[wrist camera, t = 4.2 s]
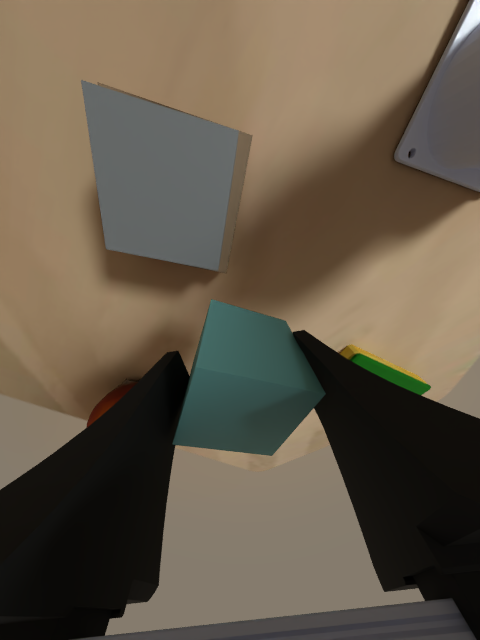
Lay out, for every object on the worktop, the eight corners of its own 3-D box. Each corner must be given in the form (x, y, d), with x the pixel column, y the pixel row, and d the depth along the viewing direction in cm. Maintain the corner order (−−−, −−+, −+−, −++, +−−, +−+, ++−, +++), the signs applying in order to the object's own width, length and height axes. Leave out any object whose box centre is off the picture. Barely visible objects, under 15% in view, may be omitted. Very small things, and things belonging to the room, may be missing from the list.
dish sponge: (377, 402, 28) (389, 417, 26) (311, 378, 25) (318, 392, 23) (416, 374, 25) (433, 388, 23) (347, 341, 22) (360, 354, 20)
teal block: (285, 320, 10) (325, 393, 6) (257, 373, 12) (272, 455, 8) (211, 299, 9) (195, 366, 5) (194, 359, 11) (172, 444, 7)
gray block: (236, 150, 10) (238, 130, 8) (219, 262, 13) (217, 271, 11) (115, 113, 9) (81, 80, 7) (127, 244, 12) (106, 249, 10)
